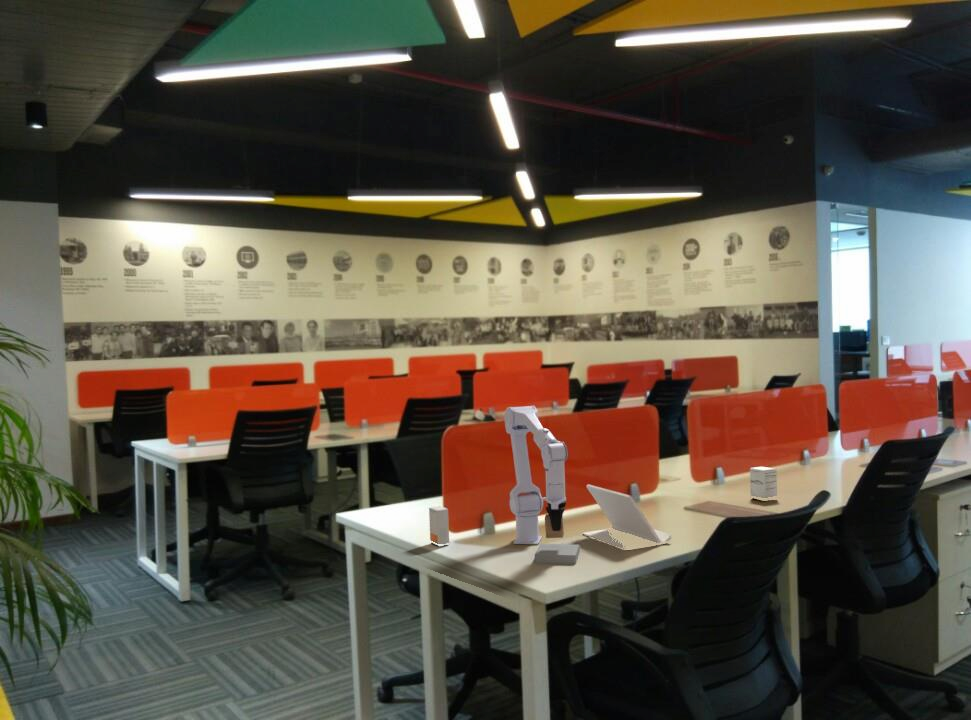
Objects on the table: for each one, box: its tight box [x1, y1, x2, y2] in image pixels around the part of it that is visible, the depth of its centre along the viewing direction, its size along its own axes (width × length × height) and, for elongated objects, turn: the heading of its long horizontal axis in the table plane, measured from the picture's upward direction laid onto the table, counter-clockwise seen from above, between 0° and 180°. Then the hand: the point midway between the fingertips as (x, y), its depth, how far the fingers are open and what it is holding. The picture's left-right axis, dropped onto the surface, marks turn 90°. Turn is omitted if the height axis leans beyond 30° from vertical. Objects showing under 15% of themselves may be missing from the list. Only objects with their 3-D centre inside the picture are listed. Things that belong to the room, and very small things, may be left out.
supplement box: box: [749, 466, 778, 498], centre depth 301 cm, size 7×7×13 cm
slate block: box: [534, 543, 581, 565], centre depth 229 cm, size 12×12×3 cm
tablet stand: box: [582, 483, 673, 549], centre depth 248 cm, size 18×25×17 cm
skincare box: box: [428, 505, 450, 544], centre depth 249 cm, size 6×4×12 cm
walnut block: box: [544, 513, 565, 539], centre depth 229 cm, size 5×5×6 cm
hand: (556, 528), depth 228 cm, fingers closed on walnut block, 5 cm apart
